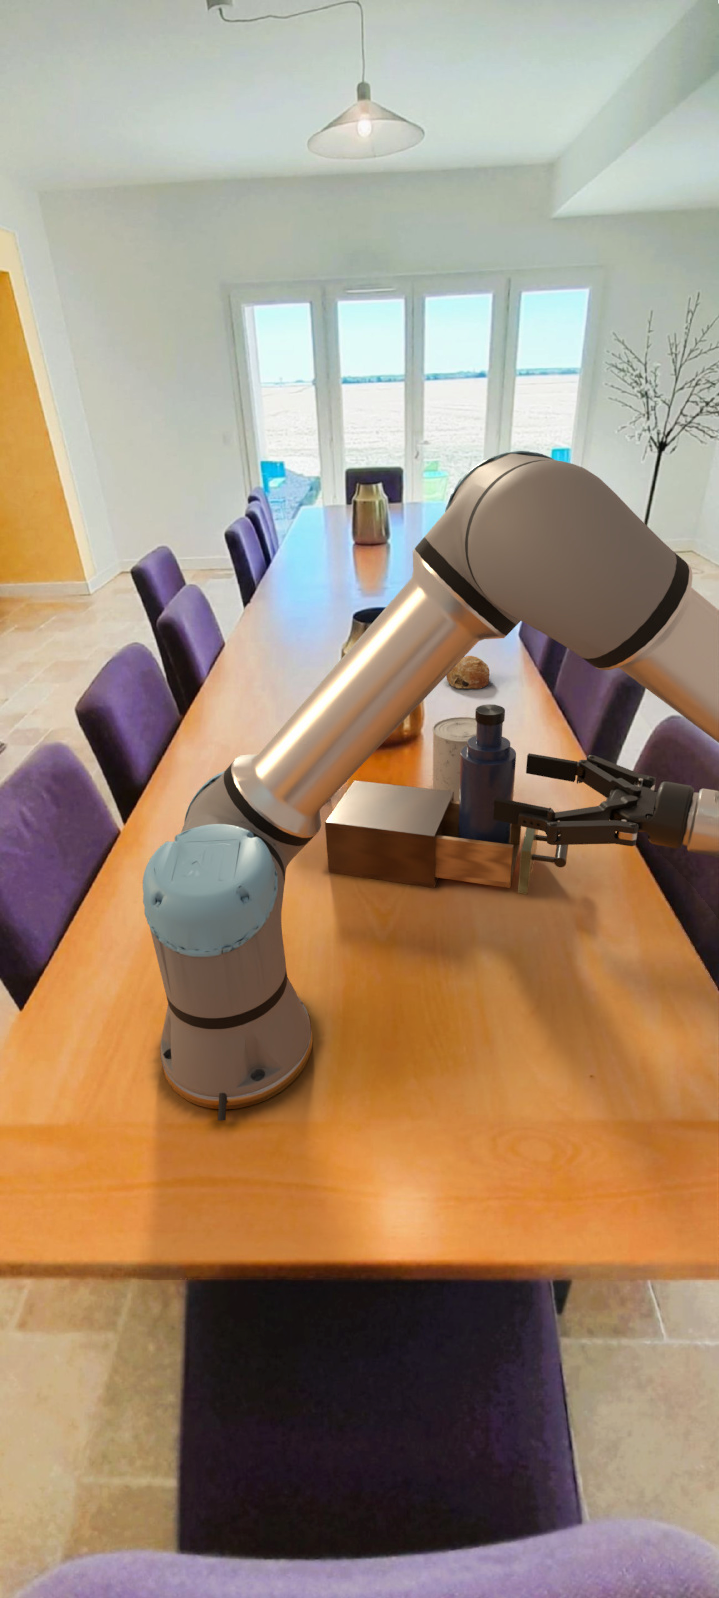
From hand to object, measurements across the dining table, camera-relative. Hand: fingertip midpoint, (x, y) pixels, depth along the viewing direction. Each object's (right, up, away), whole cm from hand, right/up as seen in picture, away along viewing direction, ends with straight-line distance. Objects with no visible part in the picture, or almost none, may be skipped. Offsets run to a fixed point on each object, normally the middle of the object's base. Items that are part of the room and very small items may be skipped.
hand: (511, 784), depth 92 cm
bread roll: (+6, +25, +74) cm, 79 cm away
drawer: (-1, -11, +7) cm, 13 cm away
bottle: (-2, -10, +7) cm, 13 cm away
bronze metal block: (-15, -10, +12) cm, 21 cm away
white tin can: (-3, -2, +26) cm, 27 cm away
